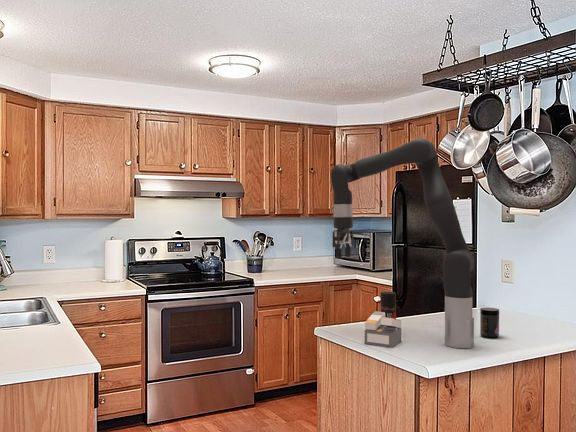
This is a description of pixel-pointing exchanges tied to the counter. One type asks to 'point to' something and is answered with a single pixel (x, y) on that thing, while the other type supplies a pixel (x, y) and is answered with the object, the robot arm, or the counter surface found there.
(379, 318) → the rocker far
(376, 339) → the grey box
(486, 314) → the supplement container
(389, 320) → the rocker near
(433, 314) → the counter surface
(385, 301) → the deodorant
